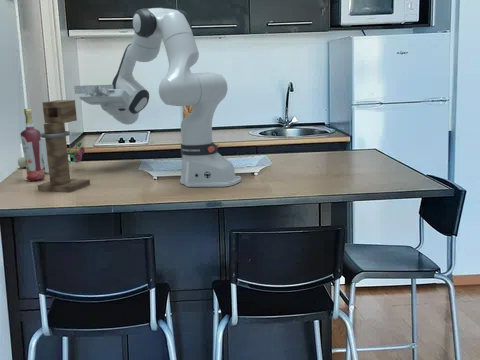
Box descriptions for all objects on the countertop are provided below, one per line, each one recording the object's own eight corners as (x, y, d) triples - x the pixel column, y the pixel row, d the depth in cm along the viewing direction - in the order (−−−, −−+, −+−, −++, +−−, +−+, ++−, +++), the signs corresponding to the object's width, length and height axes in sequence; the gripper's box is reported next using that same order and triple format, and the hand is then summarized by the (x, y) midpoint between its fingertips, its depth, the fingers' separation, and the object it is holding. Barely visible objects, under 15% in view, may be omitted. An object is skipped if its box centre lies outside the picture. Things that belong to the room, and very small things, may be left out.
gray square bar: (113, 92, 247) (113, 84, 247) (81, 93, 227) (80, 85, 226) (107, 92, 248) (106, 84, 248) (74, 93, 228) (74, 85, 227)
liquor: (49, 179, 238) (41, 108, 232) (32, 183, 233) (23, 110, 227) (39, 177, 243) (31, 107, 237) (22, 180, 238) (13, 109, 232)
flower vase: (33, 183, 270) (98, 167, 258) (13, 180, 259) (80, 164, 247) (30, 157, 272) (95, 140, 260) (10, 154, 261) (77, 136, 248)
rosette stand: (90, 184, 225) (81, 99, 218) (68, 193, 213) (59, 103, 206) (59, 183, 230) (49, 100, 223) (36, 191, 218) (25, 103, 211)
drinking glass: (55, 174, 248) (51, 138, 245) (40, 174, 249) (36, 138, 246) (63, 171, 255) (59, 135, 251) (49, 171, 256) (45, 136, 253)
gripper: (91, 96, 253) (73, 81, 241) (134, 95, 246) (117, 80, 234) (88, 110, 252) (69, 95, 239) (131, 109, 244) (114, 95, 232)
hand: (93, 88), depth 236 cm, fingers closed on gray square bar, 3 cm apart
